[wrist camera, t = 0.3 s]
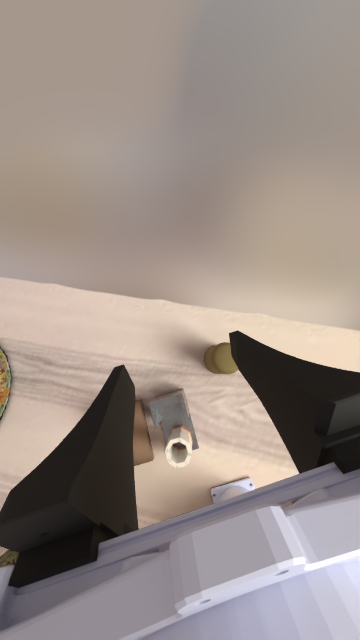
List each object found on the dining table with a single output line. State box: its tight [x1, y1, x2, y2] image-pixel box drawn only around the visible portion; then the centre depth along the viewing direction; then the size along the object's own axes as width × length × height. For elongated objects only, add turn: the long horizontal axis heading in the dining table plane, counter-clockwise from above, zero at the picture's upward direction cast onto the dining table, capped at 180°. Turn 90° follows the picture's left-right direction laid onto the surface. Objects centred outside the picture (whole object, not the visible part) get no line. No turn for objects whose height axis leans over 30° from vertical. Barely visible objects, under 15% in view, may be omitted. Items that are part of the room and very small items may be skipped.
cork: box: [204, 342, 238, 374], centre depth 35 cm, size 6×6×11 cm
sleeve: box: [165, 426, 193, 468], centre depth 34 cm, size 4×4×6 cm
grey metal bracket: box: [149, 389, 199, 450], centre depth 35 cm, size 11×6×6 cm, turn 16°
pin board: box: [133, 400, 154, 466], centre depth 36 cm, size 11×8×4 cm
